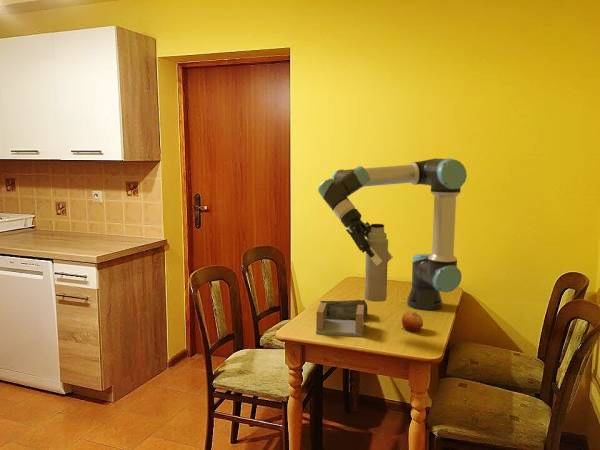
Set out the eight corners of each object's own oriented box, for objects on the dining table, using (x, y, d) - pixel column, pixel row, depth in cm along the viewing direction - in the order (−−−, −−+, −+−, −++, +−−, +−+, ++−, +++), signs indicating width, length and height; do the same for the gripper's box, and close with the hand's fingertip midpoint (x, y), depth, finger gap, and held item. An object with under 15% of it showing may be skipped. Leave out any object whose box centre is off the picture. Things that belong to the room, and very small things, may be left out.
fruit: (403, 320, 203) (413, 305, 200) (418, 334, 200) (429, 319, 196) (393, 325, 197) (403, 310, 193) (408, 340, 193) (419, 324, 190)
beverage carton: (319, 314, 216) (319, 298, 215) (365, 313, 217) (365, 298, 216) (321, 320, 208) (321, 304, 208) (368, 319, 209) (368, 304, 208)
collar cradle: (363, 324, 203) (364, 304, 201) (361, 336, 189) (362, 315, 188) (320, 321, 205) (320, 301, 204) (315, 333, 192) (316, 312, 191)
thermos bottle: (386, 296, 194) (389, 223, 190) (386, 302, 187) (388, 226, 183) (365, 295, 196) (367, 222, 192) (363, 301, 188) (365, 225, 184)
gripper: (355, 217, 205) (390, 262, 198) (326, 223, 188) (364, 272, 181) (367, 205, 201) (404, 250, 194) (339, 209, 184) (378, 259, 177)
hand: (384, 261), depth 187 cm, fingers closed on thermos bottle, 8 cm apart
